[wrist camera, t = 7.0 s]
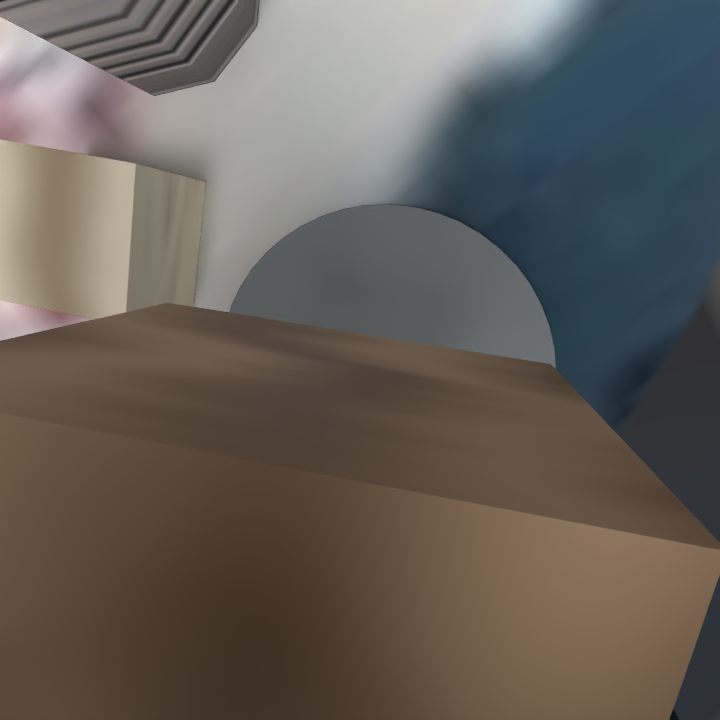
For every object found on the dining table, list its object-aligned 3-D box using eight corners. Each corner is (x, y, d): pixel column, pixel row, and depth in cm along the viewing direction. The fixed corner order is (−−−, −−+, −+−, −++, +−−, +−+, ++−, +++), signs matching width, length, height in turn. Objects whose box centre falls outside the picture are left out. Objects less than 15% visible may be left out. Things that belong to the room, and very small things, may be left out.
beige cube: (83, 284, 31) (-16, 296, 24) (88, 161, 29) (-16, 136, 22) (194, 307, 30) (125, 326, 23) (206, 182, 29) (135, 163, 22)
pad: (215, 480, 32) (205, 491, 31) (250, 179, 28) (240, 176, 27) (504, 548, 31) (507, 563, 29) (590, 239, 26) (599, 239, 25)
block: (152, 619, 16) (-105, 964, 8) (167, 302, 14) (-172, 380, 6) (474, 693, 15) (516, 1161, 7) (550, 364, 13) (726, 551, 5)
